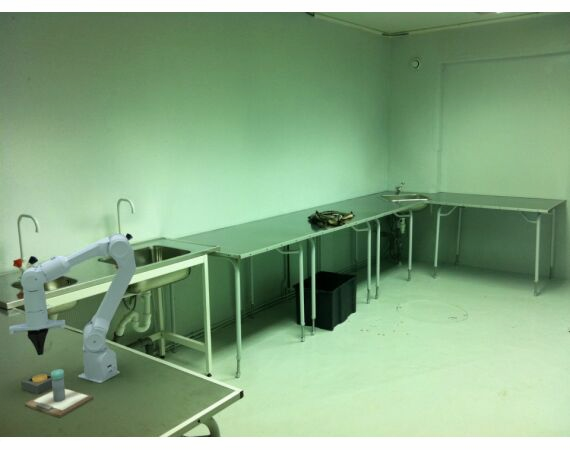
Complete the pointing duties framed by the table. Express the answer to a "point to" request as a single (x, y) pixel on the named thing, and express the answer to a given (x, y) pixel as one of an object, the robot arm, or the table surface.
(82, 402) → the clipboard
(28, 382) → the button base
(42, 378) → the button
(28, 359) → the table surface
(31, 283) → the robot arm
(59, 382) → the marker
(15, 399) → the table surface
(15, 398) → the table surface
